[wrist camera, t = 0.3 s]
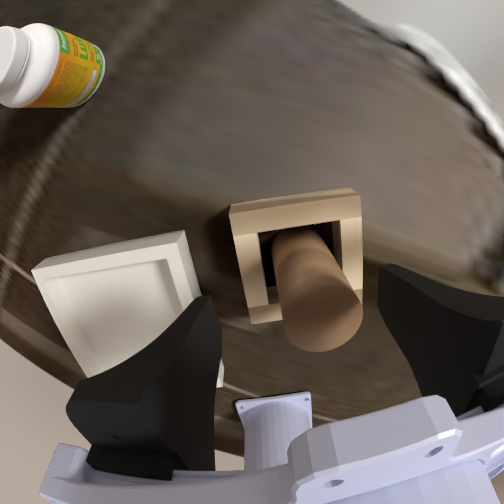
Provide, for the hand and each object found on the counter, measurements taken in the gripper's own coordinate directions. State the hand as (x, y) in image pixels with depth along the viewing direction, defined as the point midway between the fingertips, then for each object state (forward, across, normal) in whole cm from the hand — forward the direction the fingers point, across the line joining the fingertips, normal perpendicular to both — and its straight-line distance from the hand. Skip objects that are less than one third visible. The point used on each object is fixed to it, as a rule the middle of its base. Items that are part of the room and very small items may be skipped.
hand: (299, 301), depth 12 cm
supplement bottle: (+10, +13, -15) cm, 22 cm away
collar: (+10, -1, +2) cm, 10 cm away
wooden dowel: (+10, -1, +2) cm, 10 cm away
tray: (+10, +14, +6) cm, 18 cm away
